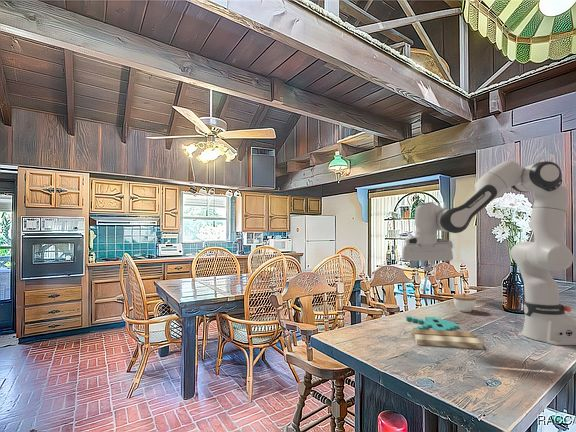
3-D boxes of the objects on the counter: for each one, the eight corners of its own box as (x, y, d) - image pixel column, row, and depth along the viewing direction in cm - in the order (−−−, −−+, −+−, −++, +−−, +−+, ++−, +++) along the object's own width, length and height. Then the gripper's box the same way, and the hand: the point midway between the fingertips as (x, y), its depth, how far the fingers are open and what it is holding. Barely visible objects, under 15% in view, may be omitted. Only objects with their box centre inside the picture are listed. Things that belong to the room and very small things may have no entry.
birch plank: (477, 343, 122) (477, 337, 122) (482, 348, 117) (482, 343, 117) (414, 339, 128) (414, 334, 128) (416, 344, 122) (416, 339, 123)
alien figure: (414, 334, 137) (463, 336, 133) (414, 329, 137) (463, 331, 133) (406, 320, 157) (449, 322, 153) (406, 316, 157) (449, 317, 153)
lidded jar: (469, 314, 163) (468, 296, 163) (449, 310, 172) (449, 292, 173) (480, 311, 168) (479, 293, 169) (461, 307, 178) (460, 290, 178)
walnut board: (471, 337, 129) (471, 332, 129) (477, 342, 123) (476, 337, 123) (412, 333, 135) (412, 328, 135) (414, 338, 129) (414, 333, 129)
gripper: (450, 238, 138) (451, 270, 137) (401, 239, 143) (402, 269, 142) (454, 239, 132) (455, 272, 131) (402, 240, 137) (403, 271, 136)
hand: (427, 271), depth 137 cm, fingers closed
